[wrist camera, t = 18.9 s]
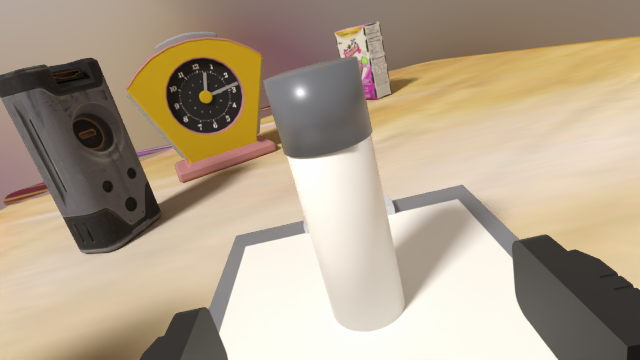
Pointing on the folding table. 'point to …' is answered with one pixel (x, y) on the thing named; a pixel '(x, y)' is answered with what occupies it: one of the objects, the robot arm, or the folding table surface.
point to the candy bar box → (367, 57)
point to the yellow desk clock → (203, 101)
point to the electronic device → (81, 151)
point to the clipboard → (417, 282)
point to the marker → (339, 188)
